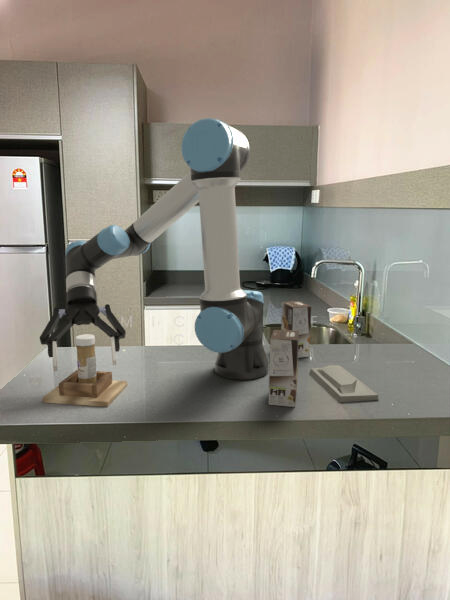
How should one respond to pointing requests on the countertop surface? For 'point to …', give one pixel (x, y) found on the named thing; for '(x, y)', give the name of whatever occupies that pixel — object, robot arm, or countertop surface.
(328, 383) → the soap mold
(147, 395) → the countertop surface
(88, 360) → the sprinkles bottle
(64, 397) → the socket board
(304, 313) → the coffee box
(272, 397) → the coffee box
